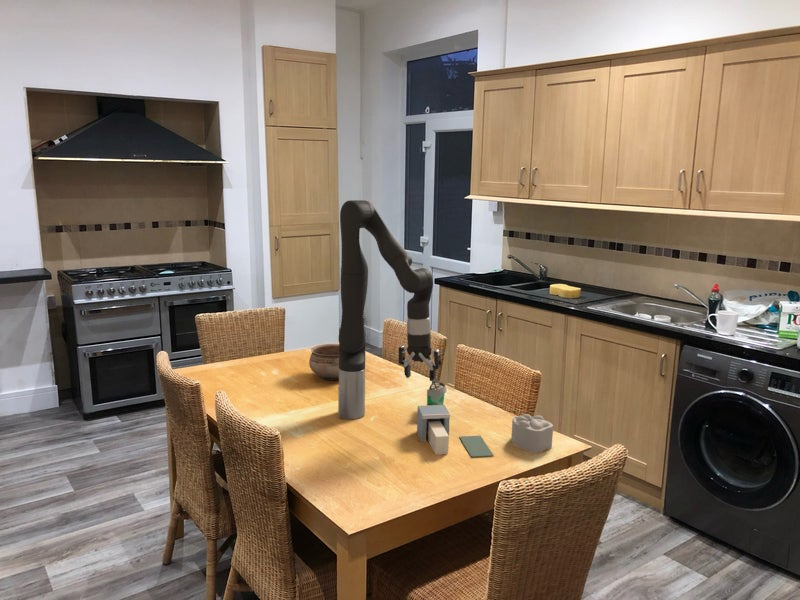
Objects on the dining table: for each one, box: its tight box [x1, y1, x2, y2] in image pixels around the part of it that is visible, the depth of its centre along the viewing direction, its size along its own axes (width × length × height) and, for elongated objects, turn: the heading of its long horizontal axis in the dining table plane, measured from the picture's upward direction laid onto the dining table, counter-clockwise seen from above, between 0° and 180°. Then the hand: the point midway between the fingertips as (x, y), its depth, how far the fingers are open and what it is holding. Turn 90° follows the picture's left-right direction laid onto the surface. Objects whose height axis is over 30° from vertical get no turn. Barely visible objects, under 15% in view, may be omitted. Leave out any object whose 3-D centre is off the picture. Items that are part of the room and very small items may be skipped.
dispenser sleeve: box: [416, 404, 451, 442], centre depth 208 cm, size 9×9×9 cm
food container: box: [426, 379, 447, 405], centre depth 230 cm, size 12×6×10 cm, turn 168°
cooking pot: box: [308, 343, 339, 381], centre depth 265 cm, size 25×19×12 cm
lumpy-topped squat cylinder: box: [510, 413, 554, 454], centre depth 204 cm, size 10×13×9 cm
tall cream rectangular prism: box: [427, 421, 450, 455], centre depth 201 cm, size 4×12×6 cm, turn 9°
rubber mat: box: [459, 435, 495, 459], centre depth 202 cm, size 7×15×1 cm, turn 9°
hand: (420, 378), depth 208 cm, fingers open, 8 cm apart
